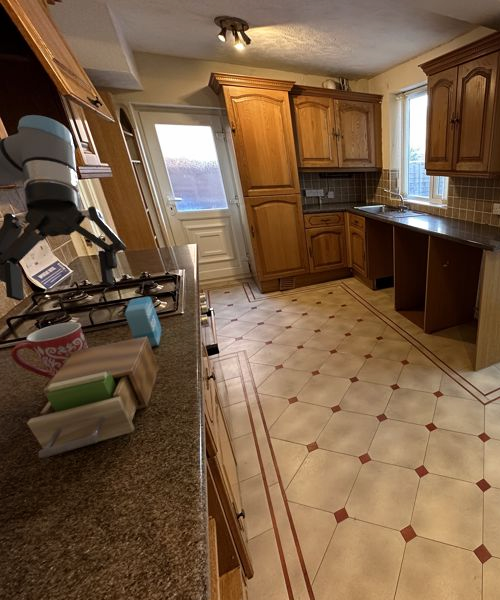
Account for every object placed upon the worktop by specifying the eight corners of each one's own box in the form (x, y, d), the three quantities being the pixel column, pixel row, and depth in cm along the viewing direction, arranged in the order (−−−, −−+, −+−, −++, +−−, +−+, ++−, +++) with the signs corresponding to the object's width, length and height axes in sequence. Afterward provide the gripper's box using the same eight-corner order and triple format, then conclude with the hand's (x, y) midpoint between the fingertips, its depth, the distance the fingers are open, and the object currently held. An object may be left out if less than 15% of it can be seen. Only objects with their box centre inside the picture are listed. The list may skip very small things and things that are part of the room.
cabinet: (147, 407, 70) (131, 370, 66) (64, 429, 64) (42, 390, 60) (159, 368, 83) (146, 336, 79) (91, 384, 77) (74, 350, 73)
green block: (76, 420, 64) (53, 379, 60) (126, 407, 67) (108, 367, 63) (68, 434, 60) (43, 392, 56) (121, 420, 64) (101, 379, 60)
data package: (158, 347, 92) (144, 309, 87) (139, 351, 90) (123, 313, 85) (162, 329, 102) (149, 294, 97) (144, 333, 99) (131, 298, 95)
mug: (107, 364, 85) (86, 318, 79) (97, 383, 77) (73, 334, 72) (42, 378, 79) (14, 331, 74) (24, 401, 72) (-7, 349, 67)
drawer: (125, 455, 57) (108, 422, 54) (30, 485, 52) (6, 450, 49) (148, 388, 74) (136, 359, 71) (78, 405, 69) (62, 375, 66)
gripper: (136, 196, 72) (150, 284, 68) (-16, 207, 63) (-10, 310, 59) (119, 175, 65) (134, 272, 61) (-55, 185, 56) (-50, 299, 53)
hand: (63, 291), depth 60 cm, fingers open, 13 cm apart
